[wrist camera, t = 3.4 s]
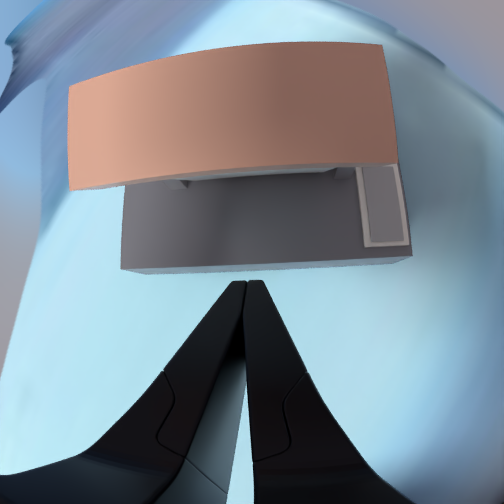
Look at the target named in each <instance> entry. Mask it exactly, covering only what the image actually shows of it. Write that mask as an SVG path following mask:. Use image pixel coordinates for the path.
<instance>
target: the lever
mask: <svg viewBox="0 0 504 504" xmlns="http://www.w3.org/2000/svg"><path fill="white" fill-rule="evenodd" d="M396 163H398V151H397V139H396V130H395V121H394V113H393V105H392V98H391V91H390V85H389V79H388V73H387V68H386V62H385V57H384V52H383V47H382V45H377V44H365V43H349V42H280V43H264V44H252V45H242V46H233V47H225V48H217V49H210V50H204V51H198V52H192V53H187V54H182V55H176V56H172V57H167V58H162V59H158V60H154V61H150V62H145V63H142V64H138V65H134V66H130V67H127V68H123V69H120V70H116V71H113V72H110V73H107V74H103V75H100V76H97V77H94V78H91V79H88V80H86V81H83V82H80V83H77V84H74V85H72V86H69V101H68V170H69V188H70V191H76V190H94V189H105V188H111V187H117V186H124V185H130V184H137V183H145V182H152V181H160V180H168V179H177V180H192V181H198V180H208V179H219V178H231V177H243V176H257V175H273V174H292V173H317V172H325V171H328V170H331V169H333V168H336V167H381V166H386V165H391V164H396Z"/></svg>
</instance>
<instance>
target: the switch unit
mask: <svg viewBox="0 0 504 504" xmlns="http://www.w3.org/2000/svg"><path fill="white" fill-rule="evenodd" d="M411 256H413V255H412V245H411V236H410V228H409V220H408V213H407V206H406V200H405V193H404V187H403V182H402V176H401V171H400V166H399V161H398V163H396V164H391V165H386V166H381V167H336V168H333V169H331V170H328V171H325V172H317V173H292V174H273V175H257V176H243V177H231V178H219V179H208V180H198V181H192V180H177V179H168V180H160V181H152V182H145V183H137V184H130V185H125V193H124V205H123V220H122V238H121V269H122V270H126V271H131V272H136V273H141V274H178V273H207V272H234V271H258V270H280V269H301V268H321V267H340V266H358V265H375V264H391V263H395V262H398V261H400V260H403V259H406V258H408V257H411Z"/></svg>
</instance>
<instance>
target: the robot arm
mask: <svg viewBox="0 0 504 504" xmlns="http://www.w3.org/2000/svg"><path fill="white" fill-rule="evenodd" d="M163 370H164V371H161V372H160V374H159V375H158V376H157V378H156V379H155V380H154V381H153V383H152V384H151V385H150V386H149V387H148V389H147V390H146V391H145V392H144V393H143V395H142V396H141V397H140V398H139V399H138V400H137V401H136V402H135V403H134V404H133V405H132V407H131V408H130V409H129V410H128V411H127V412H126V413H125V414H124V415H123V416H122V417H121V418H120V419H119V420H118V421H117V422H116V423H115V424H114V425H113V426H112V427H111V428H110V429H109V430H108V431H107V432H106V433H105V434H104V435H103V436H102V437H101V438H100V439H99V440H98V441H97V442H95V443H94V444H93V445H92V446H91V447H89V448H88V449H87V450H85V451H83V452H82V453H80V454H78V455H76V456H73V457H70V458H67V459H64V460H61V461H58V462H55V463H52V464H48V465H45V466H42V467H38V468H35V469H31V470H28V471H24V472H21V473H17V474H11V475H0V504H226V502H227V494H228V490H229V484H230V478H231V472H232V466H233V460H234V454H235V448H236V442H237V436H238V430H239V424H240V418H241V411H242V405H243V399H244V393H245V386H246V381H247V395H248V410H249V423H250V437H251V450H252V461H253V477H254V504H416V503H415V502H413V501H412V500H410V499H409V498H408V497H406V496H405V495H404V494H402V493H401V492H399V491H398V490H397V489H395V488H394V487H393V486H391V485H390V484H389V483H387V482H386V481H385V480H383V479H382V478H381V477H380V476H379V475H378V474H377V473H376V472H375V471H374V470H373V469H372V468H371V467H370V466H369V465H368V463H367V462H366V461H365V460H364V458H363V457H362V456H361V454H360V453H359V452H358V450H357V449H356V447H355V446H354V445H353V443H352V442H351V441H350V439H349V438H348V436H347V435H346V434H345V432H344V431H343V429H342V428H341V427H340V425H339V424H338V422H337V421H336V419H335V418H334V417H333V415H332V413H331V412H330V410H329V409H328V407H327V406H326V404H325V403H324V401H323V399H322V397H321V396H320V394H319V392H318V390H317V388H316V386H315V384H314V382H313V380H312V378H311V376H310V374H309V373H308V372H307V369H306V367H305V365H304V363H303V361H302V359H301V357H300V355H299V352H298V350H297V348H296V346H295V344H294V342H293V340H292V338H291V336H290V334H289V332H288V330H287V328H286V326H285V324H284V322H283V320H282V318H281V316H280V314H279V312H278V310H277V308H276V306H275V304H274V302H273V300H272V298H271V296H270V294H269V292H268V289H267V287H266V285H265V283H264V282H263V281H262V280H249V281H248V282H247V281H232V282H231V283H230V284H229V285H228V287H227V288H226V289H225V290H224V292H223V293H222V294H221V296H220V297H219V298H218V299H217V301H216V302H215V303H214V305H213V306H212V307H211V308H210V310H209V311H208V312H207V314H206V315H205V316H204V317H203V319H202V320H201V321H200V323H199V324H198V325H197V326H196V328H195V329H194V330H193V332H192V333H191V334H190V335H189V337H188V338H187V339H186V341H185V342H184V343H183V344H182V346H181V347H180V348H179V350H178V351H177V352H176V353H175V355H174V356H173V357H172V359H171V360H170V361H169V362H168V364H167V365H166V366H165V368H164V369H163Z"/></svg>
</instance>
